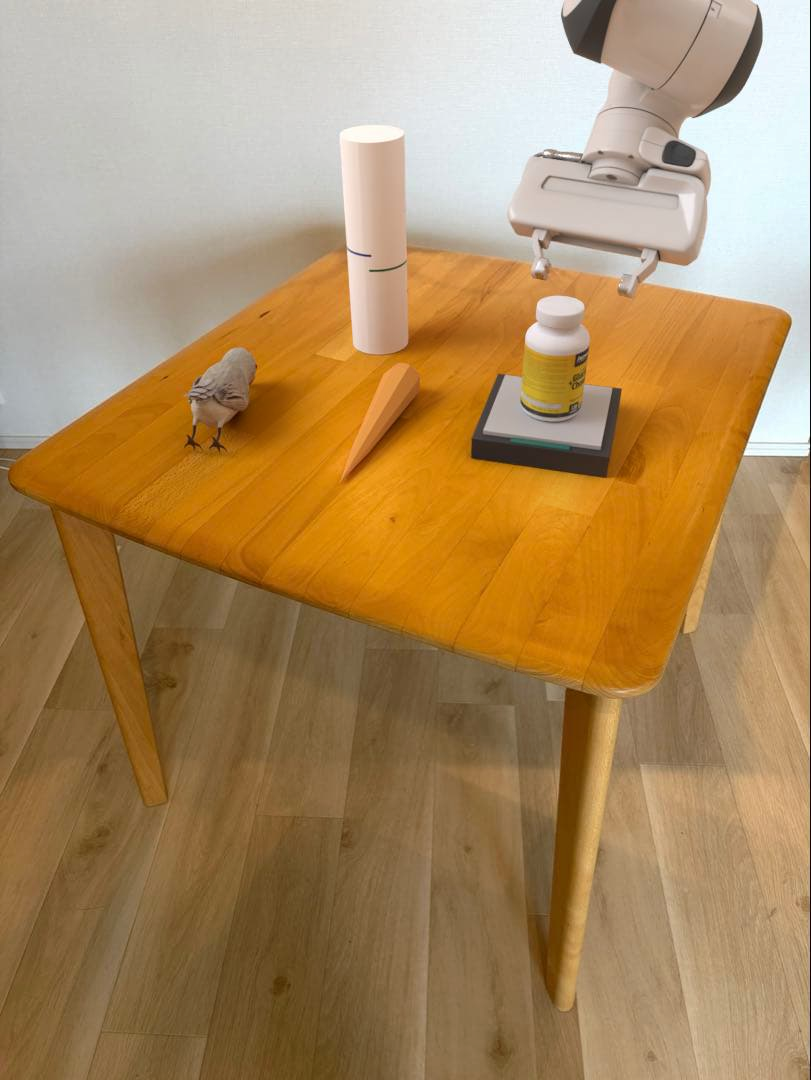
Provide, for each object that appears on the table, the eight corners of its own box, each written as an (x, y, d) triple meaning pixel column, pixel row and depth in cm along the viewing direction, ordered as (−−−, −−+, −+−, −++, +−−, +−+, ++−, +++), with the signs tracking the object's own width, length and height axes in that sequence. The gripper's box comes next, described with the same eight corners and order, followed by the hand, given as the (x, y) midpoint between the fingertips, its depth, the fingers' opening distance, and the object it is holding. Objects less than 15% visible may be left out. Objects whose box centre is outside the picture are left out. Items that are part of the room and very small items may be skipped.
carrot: (398, 392, 101) (382, 360, 99) (431, 386, 99) (415, 353, 96) (331, 502, 88) (311, 468, 86) (367, 498, 86) (347, 463, 83)
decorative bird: (272, 384, 102) (264, 326, 97) (227, 460, 90) (216, 398, 85) (229, 381, 103) (219, 323, 98) (179, 456, 90) (165, 394, 86)
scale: (618, 407, 96) (622, 384, 94) (606, 477, 86) (610, 453, 84) (496, 392, 99) (498, 369, 98) (470, 458, 89) (471, 434, 87)
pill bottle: (562, 431, 87) (574, 325, 80) (508, 412, 90) (515, 308, 83) (591, 404, 91) (606, 301, 84) (539, 386, 94) (548, 286, 87)
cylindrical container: (367, 325, 113) (356, 122, 97) (416, 334, 111) (414, 127, 95) (343, 349, 108) (328, 139, 92) (395, 358, 106) (388, 145, 90)
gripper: (525, 130, 89) (481, 254, 89) (724, 156, 81) (675, 292, 81) (539, 163, 95) (496, 279, 95) (725, 190, 87) (679, 318, 87)
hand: (580, 286), depth 88 cm, fingers open, 8 cm apart
